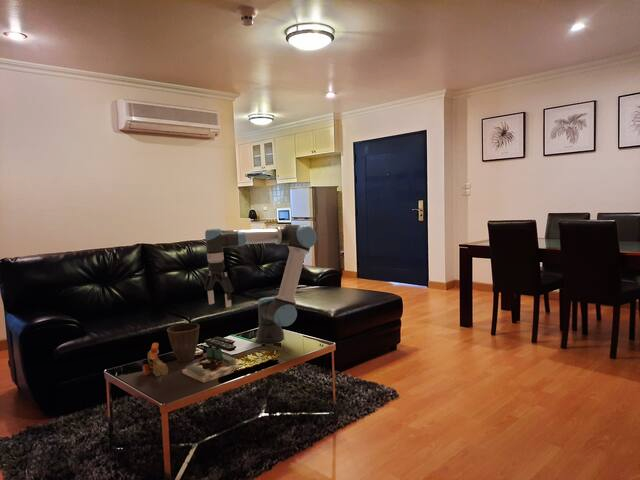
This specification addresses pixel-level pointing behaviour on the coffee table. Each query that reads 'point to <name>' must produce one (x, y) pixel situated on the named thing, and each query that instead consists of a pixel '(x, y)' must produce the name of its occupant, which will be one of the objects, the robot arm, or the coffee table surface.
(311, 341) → the coffee table surface
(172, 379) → the coffee table surface
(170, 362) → the coffee table surface
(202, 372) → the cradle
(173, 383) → the coffee table surface
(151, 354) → the toy helicopter
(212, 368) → the binoculars
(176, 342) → the plant pot
